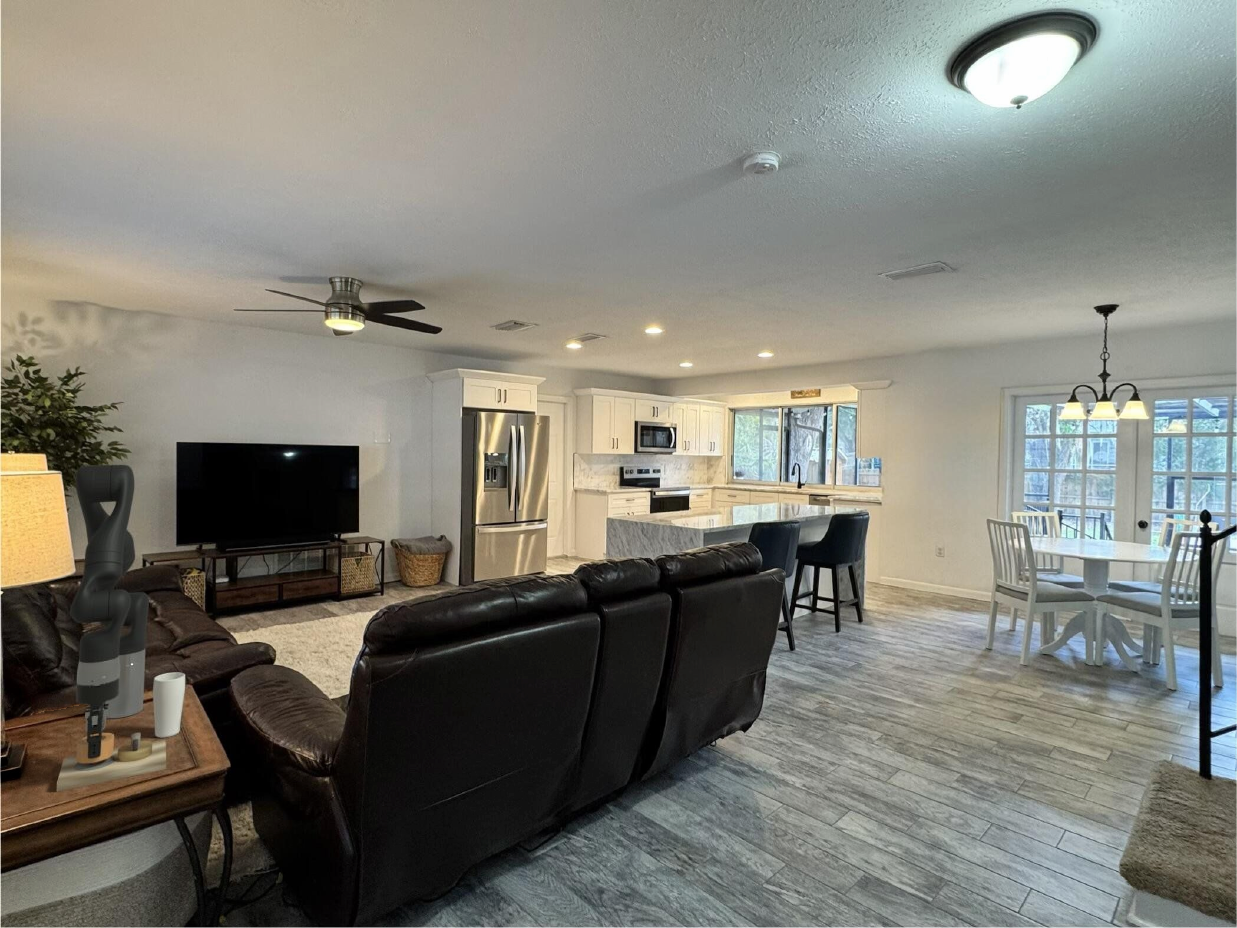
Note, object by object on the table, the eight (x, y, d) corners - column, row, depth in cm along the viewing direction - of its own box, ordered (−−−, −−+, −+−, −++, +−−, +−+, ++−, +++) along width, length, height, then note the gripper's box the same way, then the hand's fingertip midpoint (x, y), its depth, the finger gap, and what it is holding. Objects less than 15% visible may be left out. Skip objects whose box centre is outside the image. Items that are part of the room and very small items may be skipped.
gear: (78, 754, 144) (78, 736, 144) (113, 747, 147) (114, 730, 147) (75, 765, 138) (76, 747, 138) (112, 758, 142) (113, 741, 142)
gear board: (63, 766, 145) (65, 736, 145) (165, 747, 156) (166, 719, 156) (56, 791, 134) (57, 759, 134) (165, 769, 146) (167, 739, 146)
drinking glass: (164, 727, 167) (166, 671, 167) (189, 729, 166) (191, 672, 166) (144, 738, 160) (146, 680, 160) (170, 740, 160) (172, 681, 160)
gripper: (80, 671, 146) (76, 742, 147) (73, 690, 135) (70, 768, 135) (121, 666, 151) (118, 735, 151) (117, 684, 139) (114, 760, 139)
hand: (95, 750), depth 143 cm, fingers closed on gear, 6 cm apart
